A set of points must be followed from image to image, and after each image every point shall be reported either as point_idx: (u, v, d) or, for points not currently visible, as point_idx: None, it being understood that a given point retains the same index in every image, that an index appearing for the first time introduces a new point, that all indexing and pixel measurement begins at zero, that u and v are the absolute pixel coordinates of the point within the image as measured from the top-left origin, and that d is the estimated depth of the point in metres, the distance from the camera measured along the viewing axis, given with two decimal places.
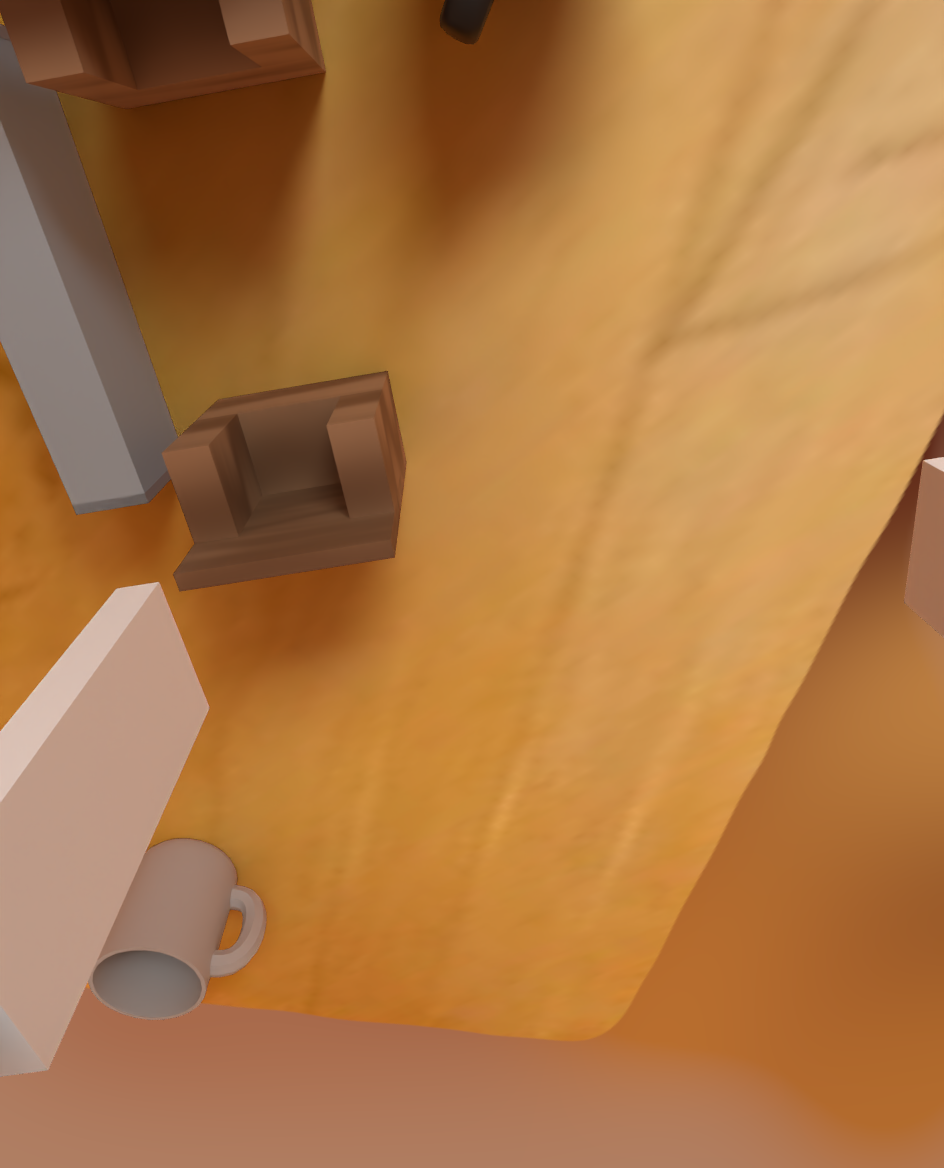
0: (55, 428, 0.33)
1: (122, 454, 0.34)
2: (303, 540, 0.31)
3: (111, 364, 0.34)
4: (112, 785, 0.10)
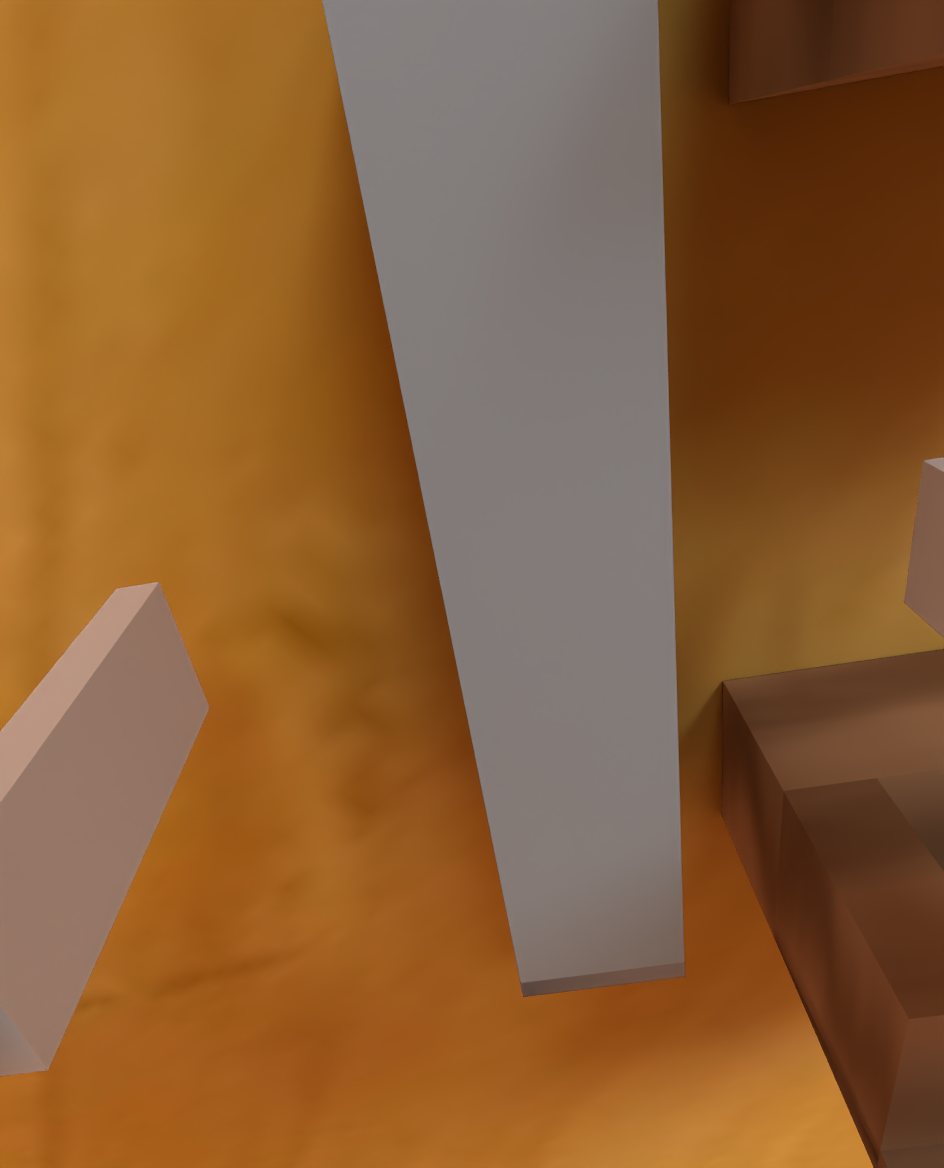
0: (535, 863, 0.14)
1: (667, 903, 0.15)
2: None
3: None
4: (112, 785, 0.10)
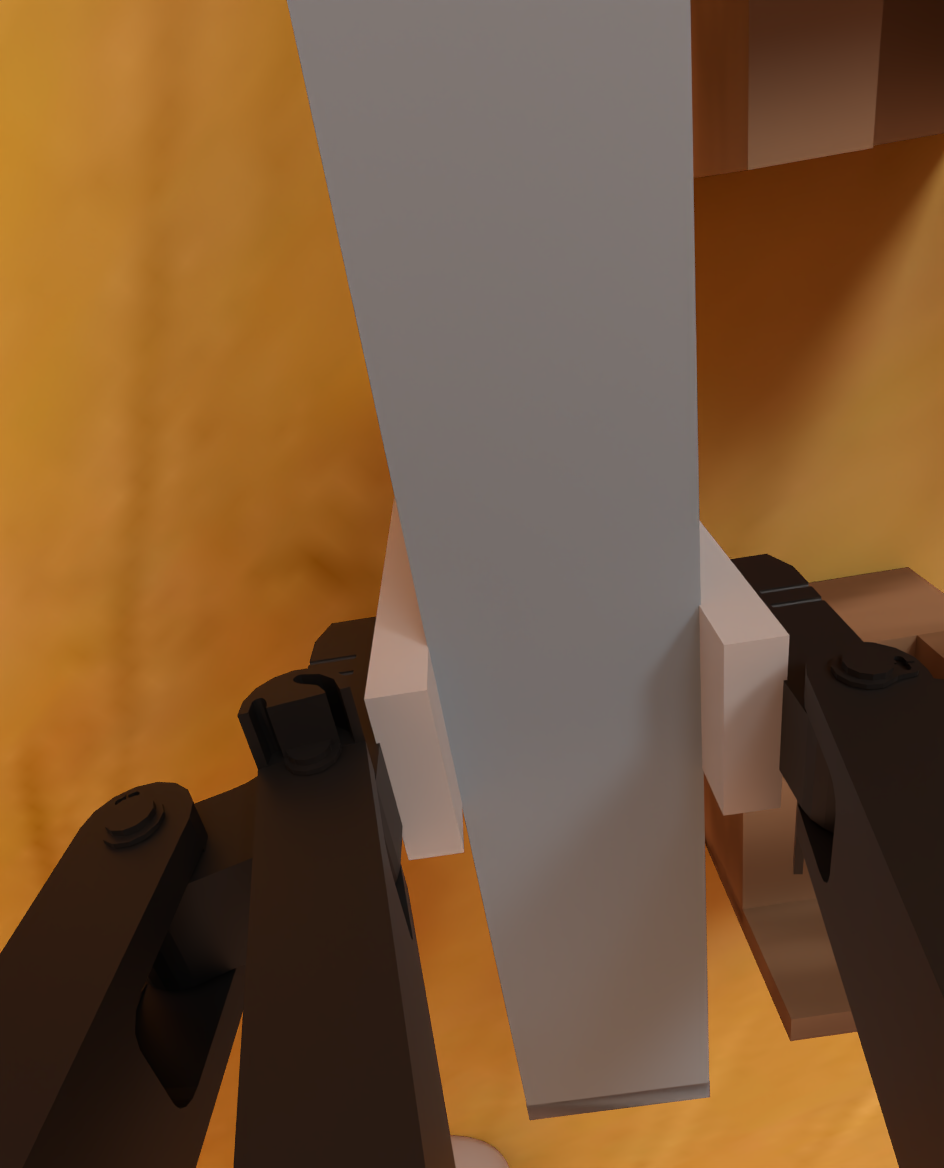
0: (543, 982, 0.13)
1: (691, 1021, 0.13)
2: None
3: None
4: None
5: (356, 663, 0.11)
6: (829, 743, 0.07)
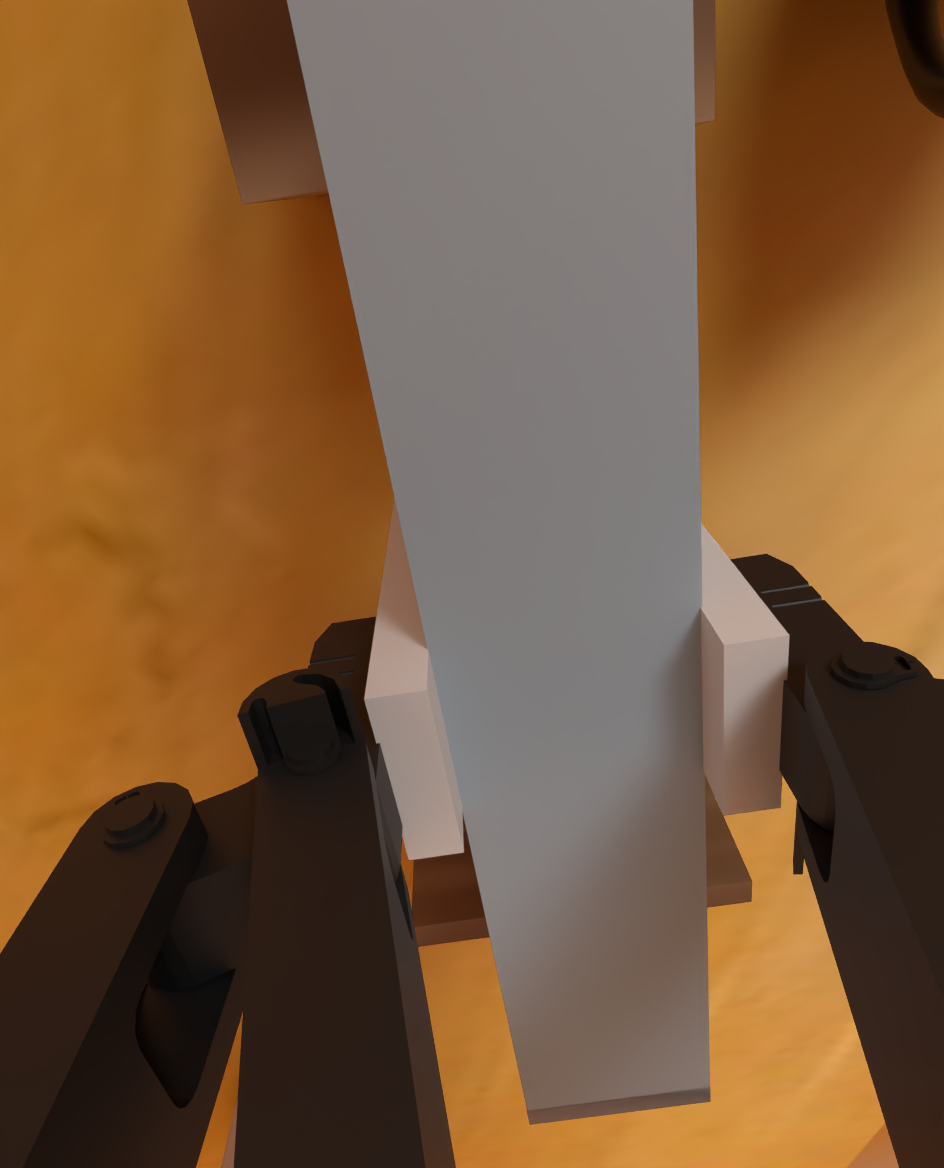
0: (543, 987, 0.13)
1: (692, 1026, 0.13)
2: None
3: None
4: None
5: (356, 663, 0.11)
6: (829, 743, 0.07)
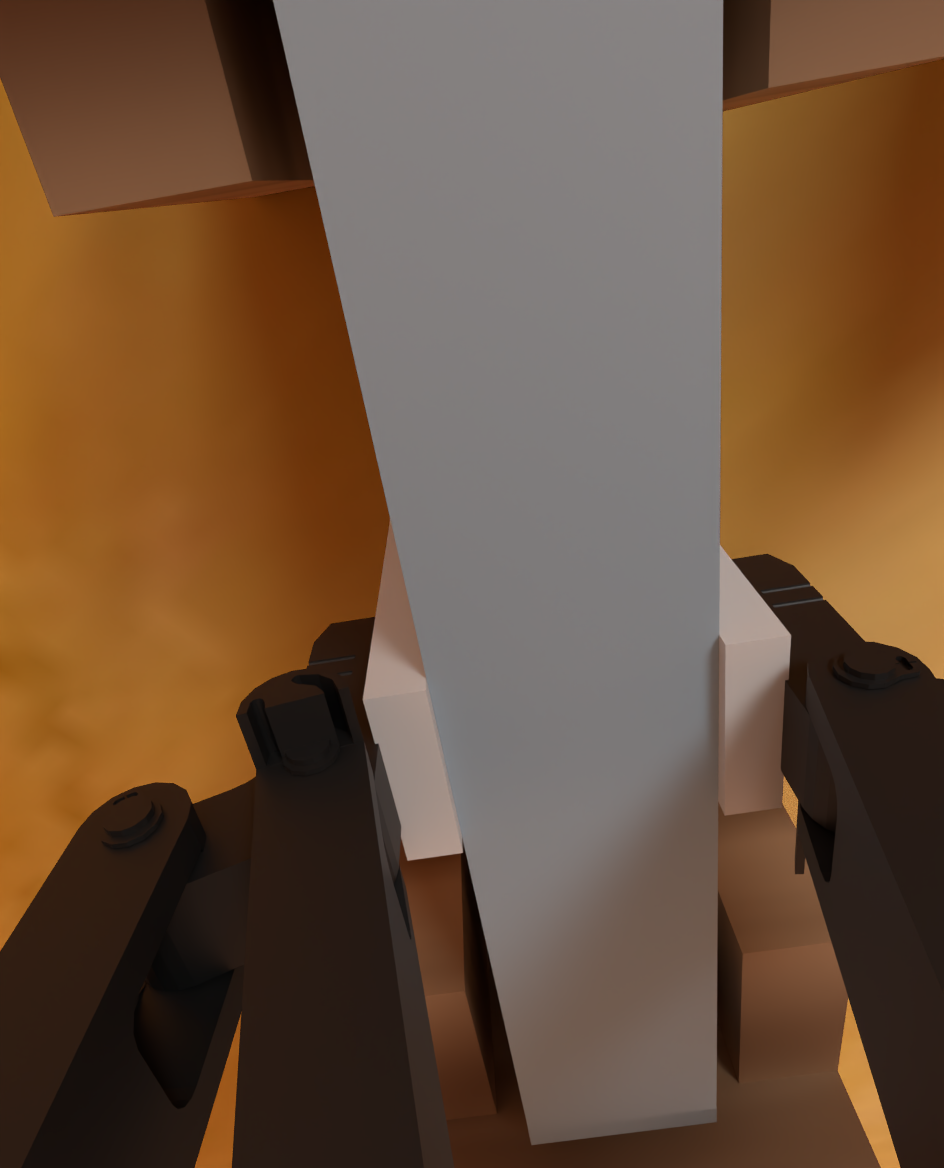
0: (546, 1012, 0.12)
1: (699, 1049, 0.13)
2: None
3: None
4: None
5: (355, 663, 0.11)
6: (831, 743, 0.07)
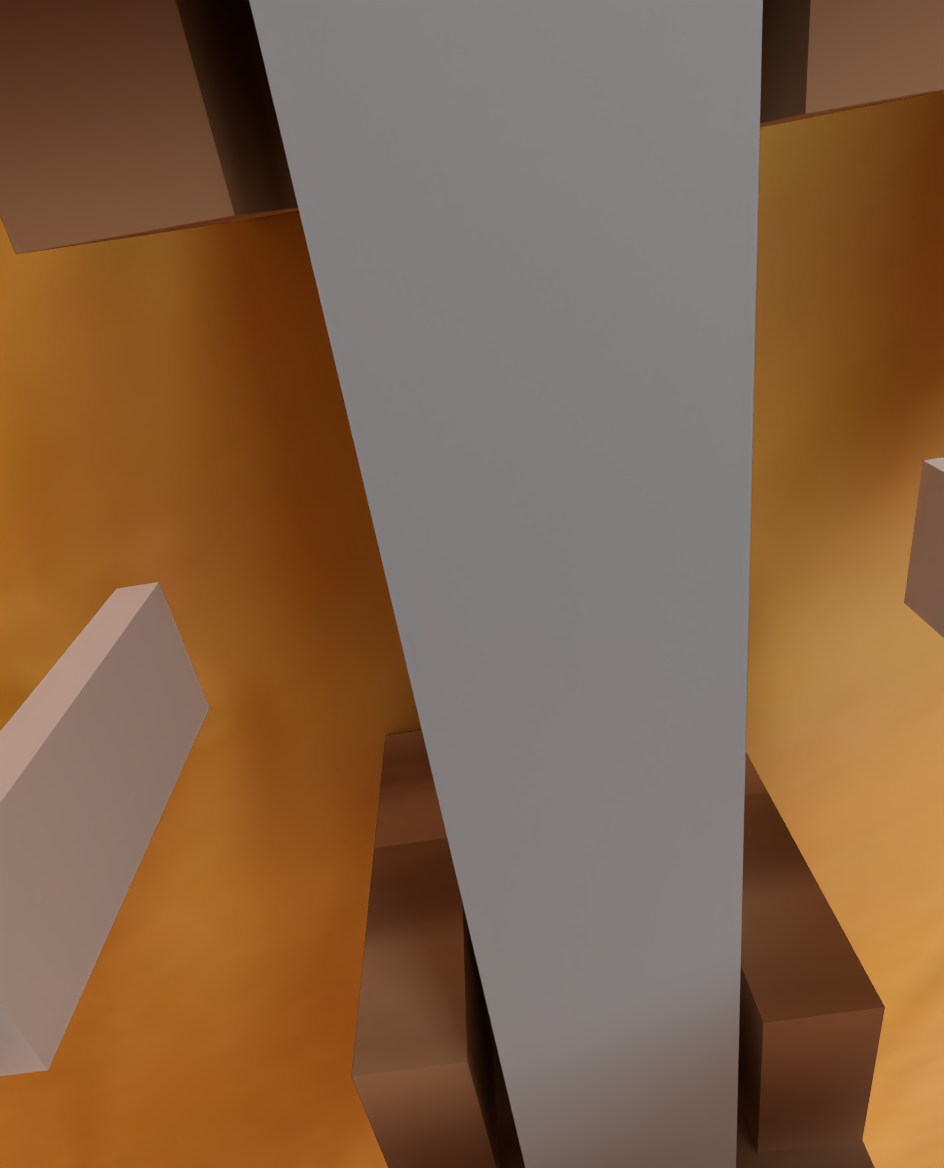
0: (555, 1091, 0.11)
1: (718, 1128, 0.12)
2: None
3: None
4: (112, 785, 0.10)
5: None
6: None
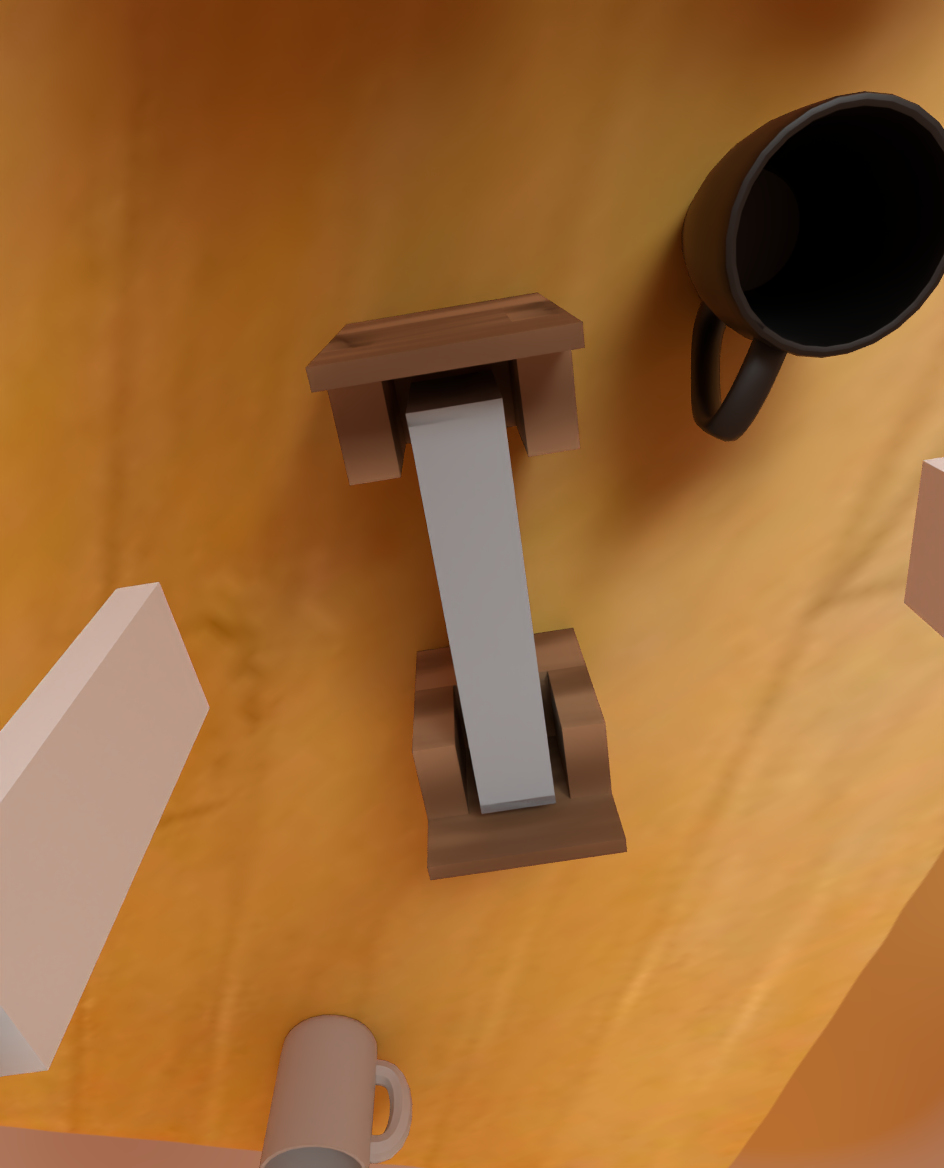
0: (484, 741, 0.33)
1: (544, 762, 0.34)
2: (537, 828, 0.35)
3: None
4: (112, 785, 0.10)
5: None
6: None
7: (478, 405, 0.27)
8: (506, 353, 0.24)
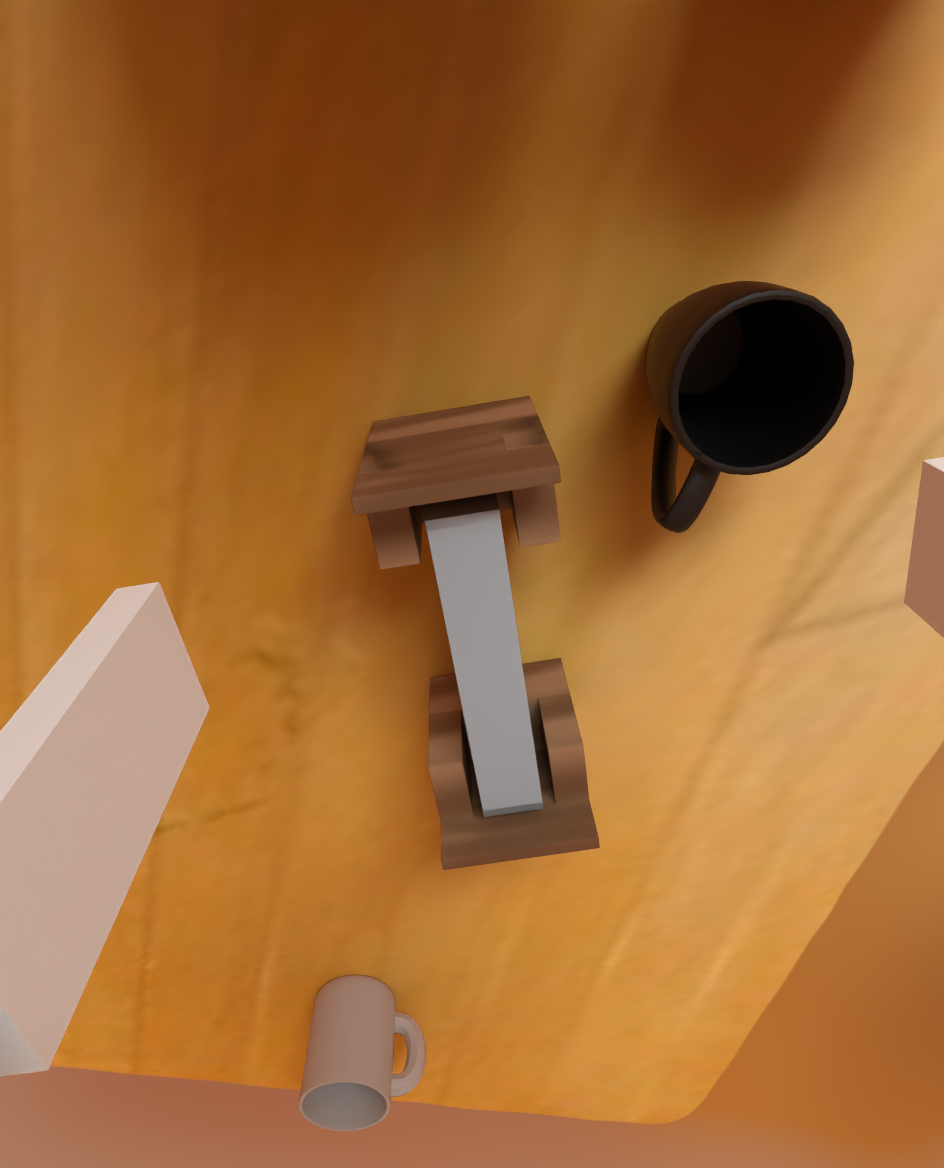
0: (486, 761, 0.42)
1: (533, 777, 0.42)
2: (529, 829, 0.43)
3: None
4: (112, 785, 0.10)
5: None
6: None
7: (480, 514, 0.35)
8: (501, 486, 0.32)
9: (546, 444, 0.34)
